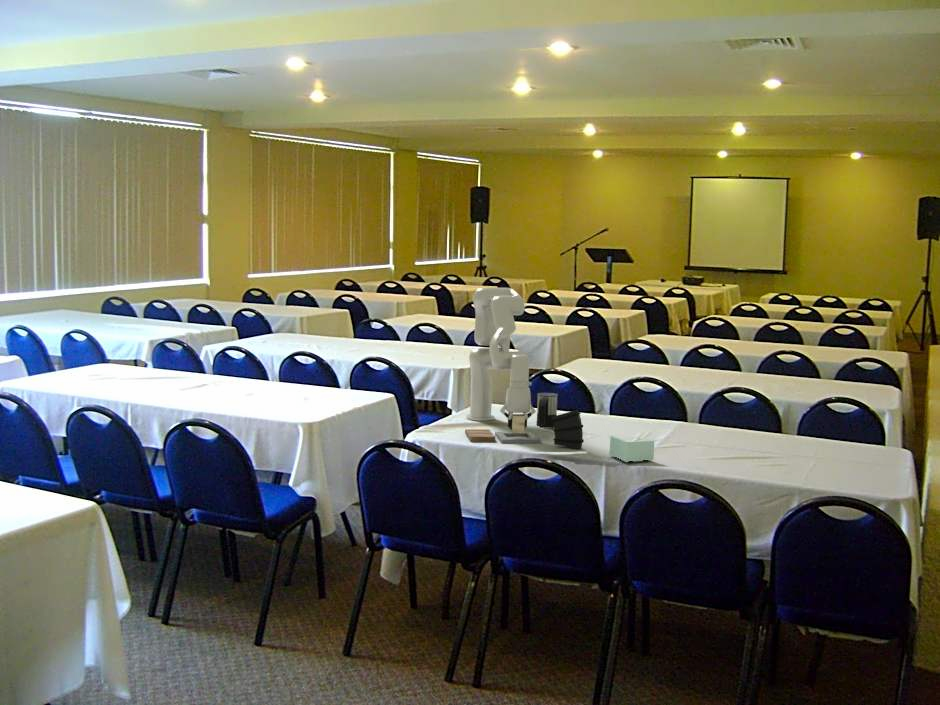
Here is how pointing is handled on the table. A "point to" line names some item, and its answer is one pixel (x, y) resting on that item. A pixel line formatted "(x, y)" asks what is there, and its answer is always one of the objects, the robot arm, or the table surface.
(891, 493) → the table surface
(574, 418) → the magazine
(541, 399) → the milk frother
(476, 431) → the walnut board
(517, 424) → the maple block
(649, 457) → the right angle wall
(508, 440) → the pocket plate
